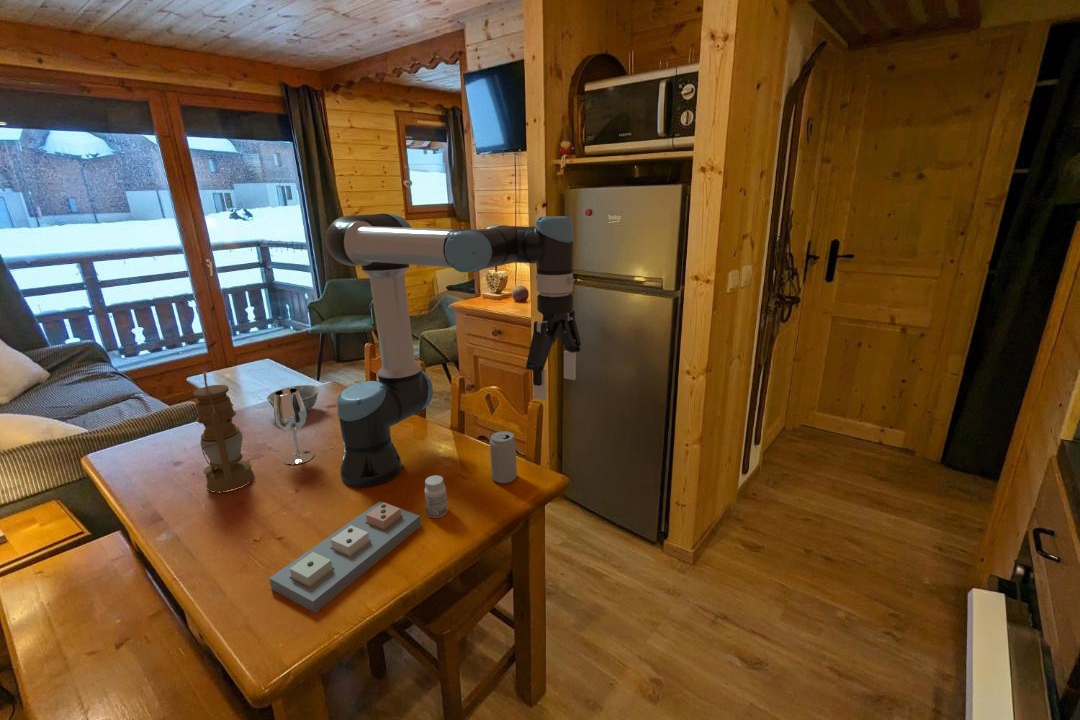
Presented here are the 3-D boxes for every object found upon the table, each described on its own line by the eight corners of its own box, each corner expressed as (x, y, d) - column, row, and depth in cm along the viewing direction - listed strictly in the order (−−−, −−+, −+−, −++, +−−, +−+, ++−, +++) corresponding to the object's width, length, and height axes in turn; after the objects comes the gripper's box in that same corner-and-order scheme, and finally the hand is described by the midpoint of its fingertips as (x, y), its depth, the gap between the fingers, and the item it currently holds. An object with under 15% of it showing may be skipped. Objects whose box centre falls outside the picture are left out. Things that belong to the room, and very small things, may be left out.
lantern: (196, 481, 127) (167, 371, 118) (239, 464, 135) (215, 360, 125) (221, 501, 118) (191, 384, 109) (265, 482, 126) (241, 371, 117)
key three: (384, 532, 103) (383, 520, 102) (367, 525, 105) (365, 513, 104) (401, 519, 107) (400, 507, 106) (384, 512, 109) (383, 501, 108)
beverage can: (513, 486, 122) (511, 442, 118) (488, 484, 123) (486, 440, 119) (519, 473, 128) (518, 431, 124) (495, 470, 129) (493, 429, 125)
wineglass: (276, 462, 135) (262, 395, 129) (299, 449, 142) (287, 384, 136) (298, 467, 132) (284, 398, 126) (320, 454, 139) (308, 388, 133)
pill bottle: (428, 506, 114) (424, 474, 112) (448, 505, 115) (446, 473, 112) (425, 519, 110) (421, 486, 107) (447, 517, 110) (443, 485, 108)
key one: (310, 589, 88) (307, 576, 87) (292, 580, 90) (289, 567, 89) (333, 572, 92) (330, 559, 91) (315, 563, 94) (313, 550, 93)
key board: (315, 613, 85) (312, 601, 84) (271, 589, 91) (269, 578, 90) (421, 525, 108) (419, 515, 107) (381, 510, 113) (379, 501, 112)
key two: (350, 558, 95) (348, 546, 95) (332, 550, 98) (330, 538, 97) (370, 543, 100) (368, 531, 99) (352, 536, 102) (350, 524, 101)
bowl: (259, 422, 161) (255, 401, 158) (290, 403, 176) (287, 383, 173) (304, 425, 158) (300, 403, 156) (331, 405, 173) (328, 385, 171)
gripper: (540, 306, 91) (541, 411, 97) (596, 285, 111) (594, 373, 118) (506, 302, 94) (510, 404, 101) (566, 283, 115) (566, 369, 121)
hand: (555, 388), depth 109 cm, fingers open, 13 cm apart
